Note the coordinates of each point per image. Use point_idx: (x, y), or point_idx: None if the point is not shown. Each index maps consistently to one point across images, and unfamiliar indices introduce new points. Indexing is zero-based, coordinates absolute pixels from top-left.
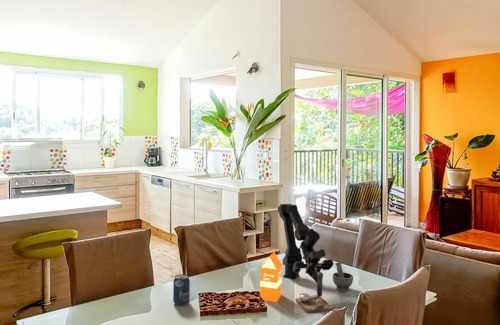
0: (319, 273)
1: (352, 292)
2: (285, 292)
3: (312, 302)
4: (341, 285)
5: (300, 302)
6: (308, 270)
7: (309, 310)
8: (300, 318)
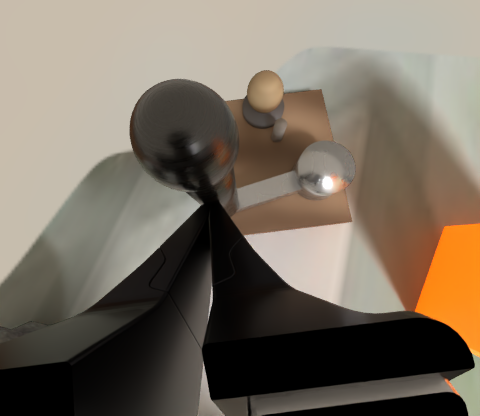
0: (195, 82)
1: (3, 304)
2: None
3: (274, 164)
4: (13, 333)
5: None
6: (335, 380)
7: (310, 91)
8: (353, 62)
